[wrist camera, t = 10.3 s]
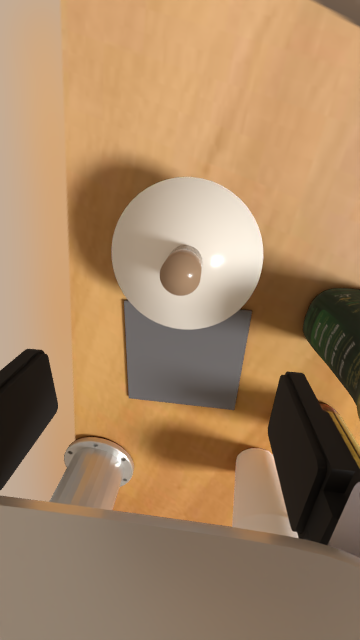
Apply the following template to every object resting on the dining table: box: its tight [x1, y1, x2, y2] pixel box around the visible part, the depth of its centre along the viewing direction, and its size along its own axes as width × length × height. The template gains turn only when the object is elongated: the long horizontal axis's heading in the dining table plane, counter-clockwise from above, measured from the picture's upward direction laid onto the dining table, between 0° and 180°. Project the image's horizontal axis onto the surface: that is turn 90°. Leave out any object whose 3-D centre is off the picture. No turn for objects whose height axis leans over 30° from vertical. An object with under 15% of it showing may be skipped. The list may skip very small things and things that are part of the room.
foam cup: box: [232, 448, 298, 538], centre depth 38 cm, size 10×9×13 cm
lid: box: [112, 177, 263, 330], centre depth 23 cm, size 14×14×6 cm
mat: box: [124, 300, 252, 410], centre depth 37 cm, size 16×16×1 cm
